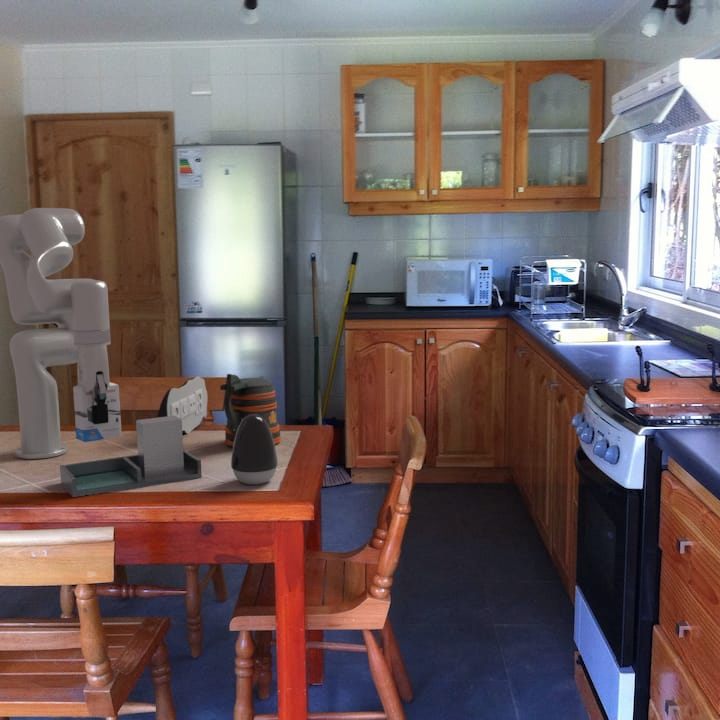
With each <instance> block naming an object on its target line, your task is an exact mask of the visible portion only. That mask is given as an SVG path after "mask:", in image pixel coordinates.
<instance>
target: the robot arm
mask: <svg viewBox="0 0 720 720" xmlns="http://www.w3.org/2000/svg"><path fill="white" fill-rule="evenodd" d="M85 233H86V228H85V223H84V219H83V217H82V215H80V213H79V212H78V211H76V210H75V209H72V208H65V207H62V208H61V207H34V208H31V209H28V210H26V211H25V212H23V213H22V214H8V215H1V216H0V265H1V269H2V270H3V273H4V279H5V285H6V292H7V297H8V304H9V310H10V313H11V317H12V320H13V321H14V323H16V324H18V325H22V326H23V325H24V326H26V325H27V326H28V325H29V326H31V325H34V326H35V325H46V324H49V325H51V324H56V326H57V327H54V328H35V329H27V330H26V329H25V330H22V331H19V332H17V333H15V334H14V335H13V336H12V337H11V339H10V340H9V351H10V353H9V354H10V356H11V357H10V358H11V360H12V364H13V369H14V374H15V375H14V376H15V383H16V384H15V385H16V392H17V405H18V406H17V407H18V409H17V410H18V419H19V433H20V434H19V436H20V446H21V447H19V448H17V449H16V450H14V456H15V457H16V458H18V459H26V460H37V459H38V460H39V459H48V458H54V457H57V456H62V455H64V454H66V453H67V452H68V451H69V449H68V447H69V446H68V445H67V444H66V443H62V437H61V436H62V435H61V420H60V418H61V417H60V410H59V409H60V407H59V393H58V392H59V391H58V384H57V381H56V379H55V377H53V375H52V374H51V373H50V372H49V371H47V368H48V367H56V366H64V365H71V364H72V365H73V364H76V363H77V385H80V386H82V387H83V388H85V392H87V393H89V392H90V390H92V400H93V406H92V419H93V424H102V423H108V404H107V397H106V391H107V390H108V389H109V386H110V368H109V357H108V349H107V348H108V347H107V346H109V345H111V344H112V343H111V341H112V340H111V326H110V325H111V324H110V322H111V321H110V308H109V291H108V290H109V289H108V285H107V283H106V282H105V281H103V280H99V279H97V280H96V279H93V278H89V277H88V278H83V277H82V278H62V279H61V278H58V279H57V278H55V279H47V277H49V276H51V275H54V274H56V273H58V272H60V271H62V270H64V269H65V268H66V267H68V265H70V263H71V262H72V260H73V259H74V248H73V246H76V245H78V244H79V243H82V240H83V239H84V237H85ZM24 250H29V251H30V252H31V254H32V256H33V257H32V256H31V255H30V254H28V253H27V252H26V251H24ZM105 385H106V386H107V387H105ZM95 388H98V389H99V390H98V391H94V389H95ZM96 394H97V396H96Z"/></svg>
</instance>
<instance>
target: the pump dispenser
mask: <svg viewBox="0 0 720 720" xmlns="http://www.w3.org/2000/svg"><path fill="white" fill-rule="evenodd" d="M230 459H231V461H230V467H231V469H232V472H233V475H234V476H235V478H236V479H237V480H238V481H239V482H240V483H243V484H245V485H250V486H257V485H264V484H265V483H267V482H269V481H270V480H271V479H272V478H273V477H274V475H275V473H276V471H277V467H278V464H279V462H278V461H279V460H278V454H277V449H276V445H275V444H274V441H273V437H272V434H271V432H270V429H269V427H268V425H267V423H266V421H265V420H264V419H263V418H262V417H261V416H259V415H258V414H257V413H255V414H250V415H248V416H246V417H245V418H244V419H243V420H242V421H241V423H240V425H239V427H238V430H237V433H236V436H235V440H234V445H233V447H232V452H231V458H230Z"/></svg>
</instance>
